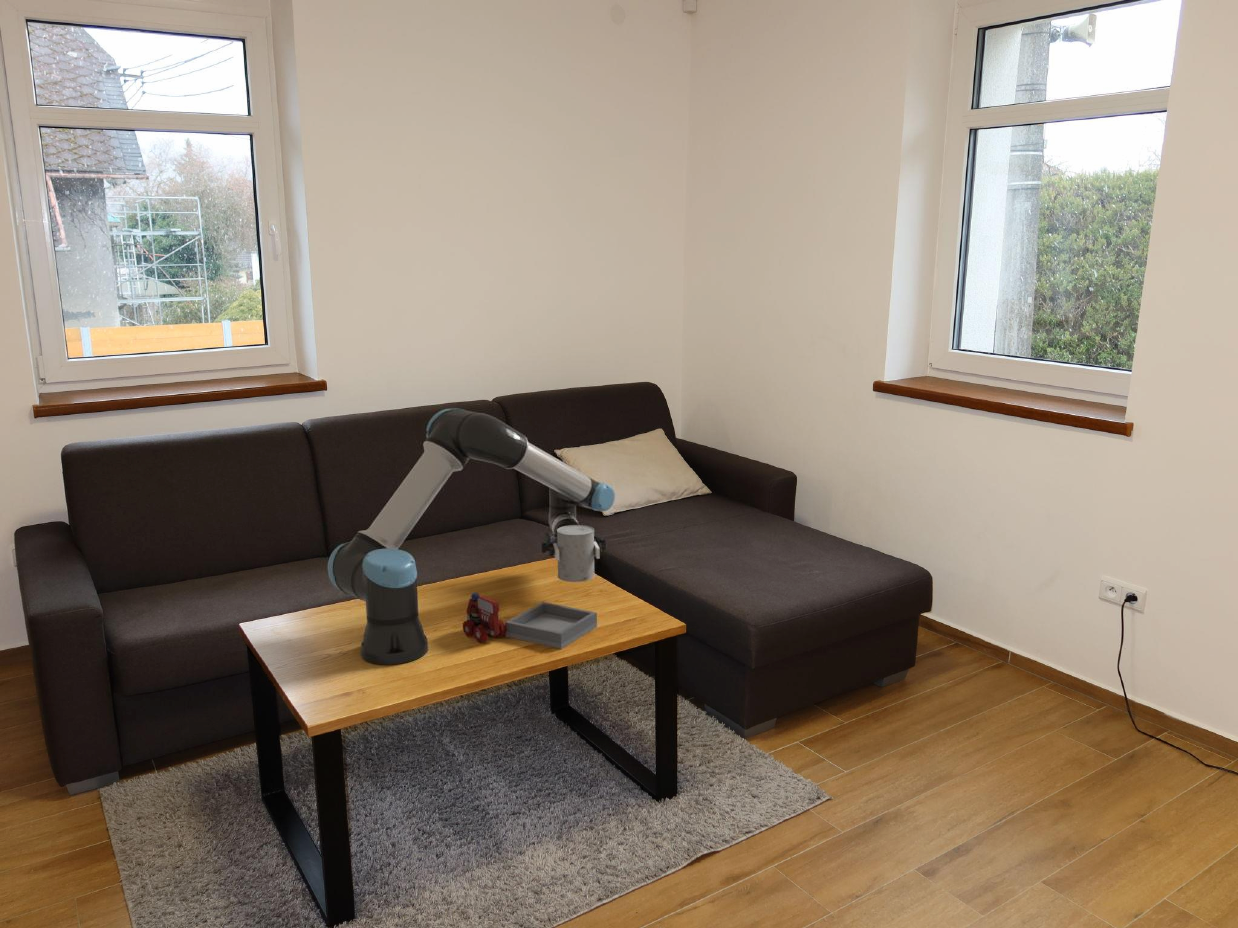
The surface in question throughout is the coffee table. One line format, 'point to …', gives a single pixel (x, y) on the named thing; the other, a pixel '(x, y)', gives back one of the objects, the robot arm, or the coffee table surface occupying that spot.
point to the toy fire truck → (483, 619)
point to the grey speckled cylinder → (575, 553)
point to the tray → (551, 625)
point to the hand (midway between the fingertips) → (578, 554)
